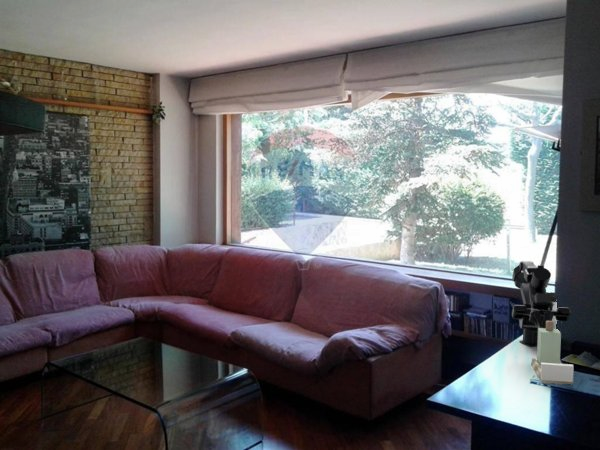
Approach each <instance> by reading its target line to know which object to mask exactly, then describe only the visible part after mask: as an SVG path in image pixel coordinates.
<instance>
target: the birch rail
mask: <svg viewBox="0 0 600 450" xmlns="http://www.w3.org/2000/svg"><path fill="white" fill-rule="evenodd" d="M530 364H531V367H532V369H533V371H534V372H535V374H536V376H537V375H538V376H537V377H539V378H538V379H539V381H540V383H541V382H545V383H544V384H550V383H555V384H554V385H562V384H573V385H574V381H573V382H565V381H552V380H541V367H540V365H539V364H538V362H537V358H536V357H532V358H531V362H530ZM560 364H564V363H563V362H562V361H561V360H560Z"/></svg>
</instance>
